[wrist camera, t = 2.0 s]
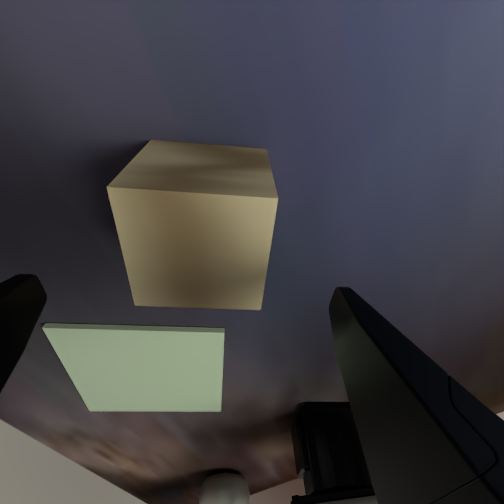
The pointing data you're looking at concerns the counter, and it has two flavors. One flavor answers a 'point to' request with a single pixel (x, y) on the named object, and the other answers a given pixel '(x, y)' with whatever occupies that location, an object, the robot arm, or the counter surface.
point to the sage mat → (142, 366)
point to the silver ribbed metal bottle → (224, 489)
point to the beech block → (195, 224)
